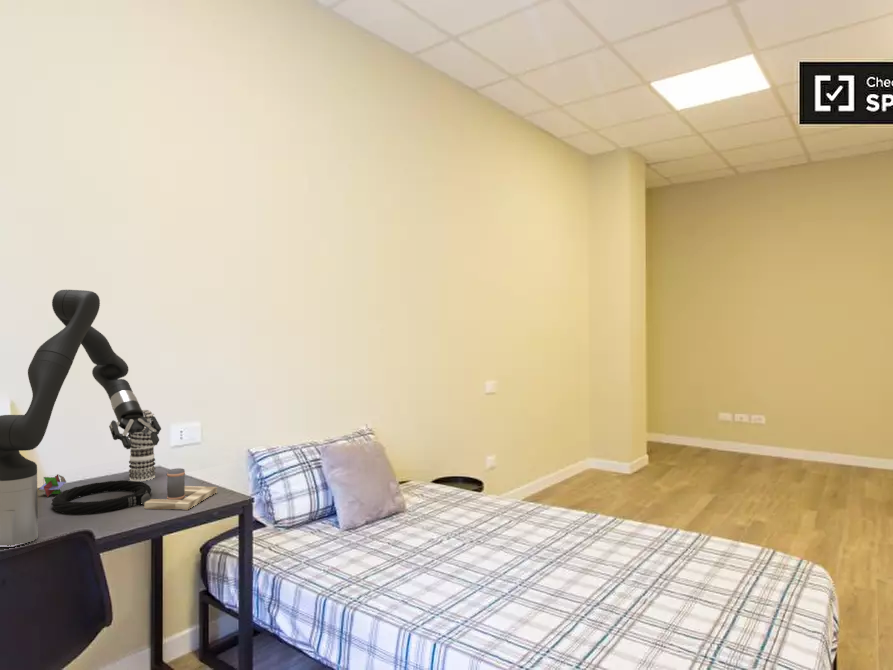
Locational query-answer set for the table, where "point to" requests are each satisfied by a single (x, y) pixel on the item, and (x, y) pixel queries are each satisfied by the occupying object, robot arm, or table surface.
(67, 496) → the cable lock
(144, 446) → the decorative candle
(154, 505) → the wooden u-shaped frame
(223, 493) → the table surface
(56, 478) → the geometric puzzle
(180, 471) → the grey banded cylinder
